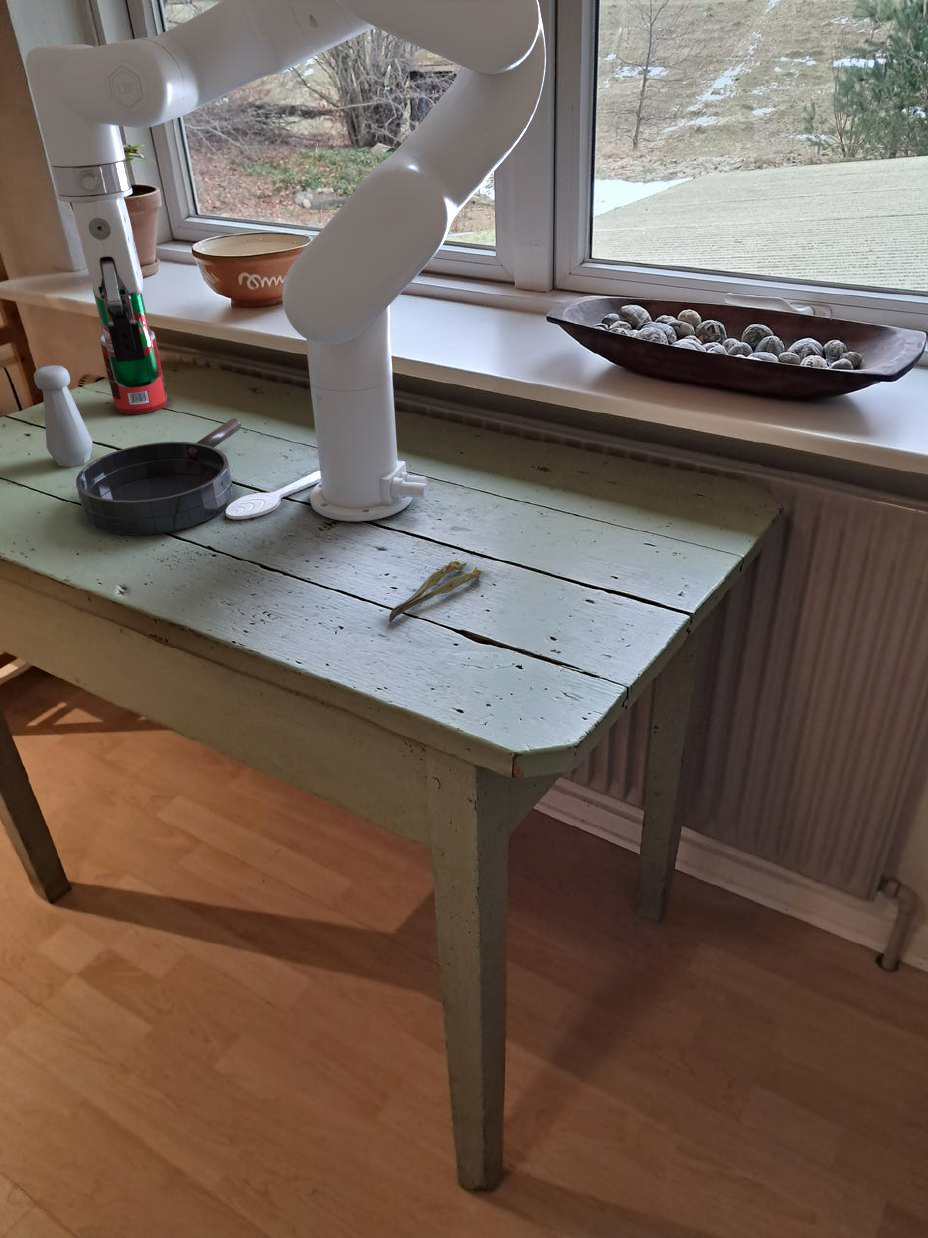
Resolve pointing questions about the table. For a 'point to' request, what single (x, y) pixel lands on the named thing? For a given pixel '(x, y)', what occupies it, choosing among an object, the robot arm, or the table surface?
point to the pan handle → (216, 436)
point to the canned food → (137, 388)
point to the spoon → (267, 499)
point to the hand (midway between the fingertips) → (131, 350)
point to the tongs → (434, 581)
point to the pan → (154, 488)
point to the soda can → (146, 369)
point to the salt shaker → (62, 418)
